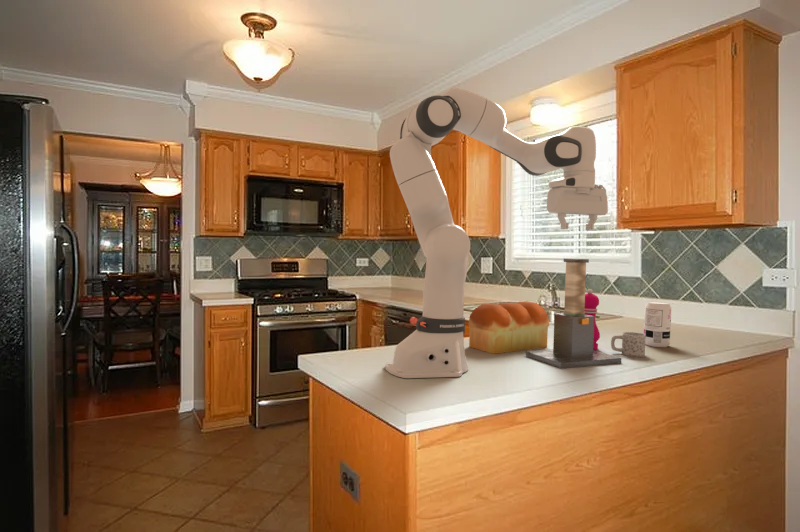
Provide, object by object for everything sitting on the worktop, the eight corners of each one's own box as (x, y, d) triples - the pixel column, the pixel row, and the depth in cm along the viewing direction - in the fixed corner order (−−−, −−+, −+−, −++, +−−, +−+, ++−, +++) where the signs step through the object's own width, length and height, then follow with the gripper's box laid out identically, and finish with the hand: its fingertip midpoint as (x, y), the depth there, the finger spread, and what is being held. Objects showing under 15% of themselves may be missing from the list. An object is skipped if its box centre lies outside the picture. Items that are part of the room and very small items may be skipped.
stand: (561, 368, 137) (562, 320, 136) (525, 356, 152) (527, 312, 151) (621, 362, 145) (623, 317, 145) (582, 351, 160) (583, 310, 159)
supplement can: (639, 342, 178) (641, 301, 177) (662, 343, 178) (664, 301, 177) (649, 347, 170) (651, 303, 169) (674, 348, 169) (676, 304, 169)
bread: (521, 341, 177) (522, 300, 177) (548, 347, 167) (550, 303, 166) (467, 347, 164) (468, 303, 164) (493, 354, 154) (494, 307, 153)
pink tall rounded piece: (601, 351, 162) (603, 290, 161) (578, 349, 163) (580, 289, 162) (597, 346, 169) (599, 288, 168) (574, 345, 170) (577, 287, 169)
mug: (642, 353, 160) (643, 332, 160) (646, 357, 153) (647, 336, 153) (609, 350, 162) (609, 330, 162) (612, 355, 156) (613, 334, 156)
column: (572, 330, 145) (575, 259, 144) (561, 327, 149) (563, 258, 149) (586, 329, 147) (588, 259, 146) (574, 327, 151) (576, 258, 150)
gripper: (598, 186, 153) (596, 230, 154) (544, 181, 145) (542, 228, 146) (613, 184, 147) (612, 230, 148) (558, 179, 140) (556, 228, 140)
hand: (577, 229), depth 147 cm, fingers open, 8 cm apart
